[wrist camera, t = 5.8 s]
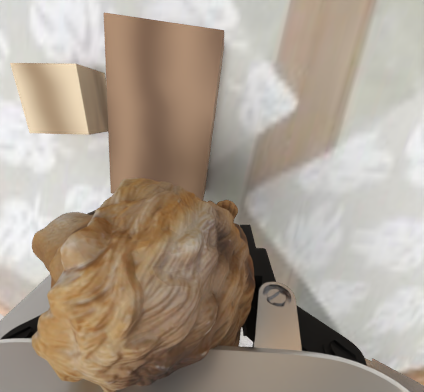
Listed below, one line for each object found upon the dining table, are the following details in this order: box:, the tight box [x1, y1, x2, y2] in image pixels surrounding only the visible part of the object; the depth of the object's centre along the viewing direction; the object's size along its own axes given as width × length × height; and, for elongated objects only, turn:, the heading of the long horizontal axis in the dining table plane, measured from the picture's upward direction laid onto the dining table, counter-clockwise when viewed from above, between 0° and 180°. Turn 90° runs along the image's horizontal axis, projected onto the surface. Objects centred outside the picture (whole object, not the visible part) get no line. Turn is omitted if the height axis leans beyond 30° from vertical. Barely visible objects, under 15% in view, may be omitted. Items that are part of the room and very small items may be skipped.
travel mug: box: [0, 275, 51, 339], centre depth 23 cm, size 6×7×20 cm
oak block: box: [10, 63, 108, 134], centre depth 22 cm, size 6×6×5 cm
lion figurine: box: [32, 178, 255, 392], centre depth 9 cm, size 15×5×9 cm, turn 11°
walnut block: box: [104, 13, 224, 201], centre depth 23 cm, size 10×16×5 cm, turn 172°
